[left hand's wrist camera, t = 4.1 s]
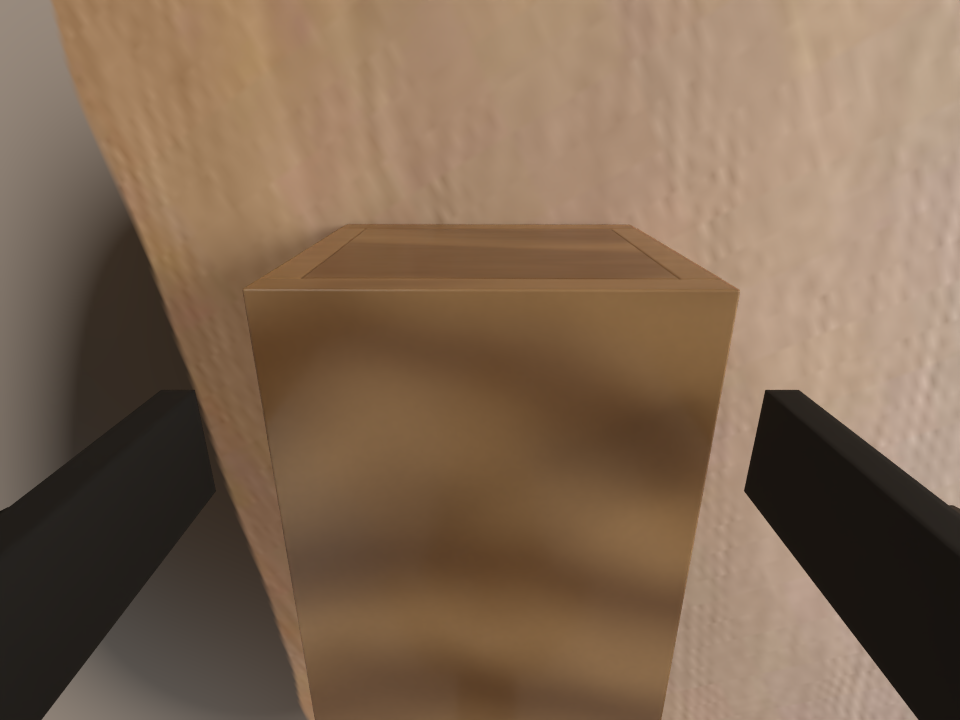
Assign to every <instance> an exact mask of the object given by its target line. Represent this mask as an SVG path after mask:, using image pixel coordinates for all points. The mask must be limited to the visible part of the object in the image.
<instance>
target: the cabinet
mask: <svg viewBox="0 0 960 720" xmlns="http://www.w3.org/2000/svg"><path fill="white" fill-rule="evenodd" d="M243 295H244V301H245V307H246V313H247V319H248V325H249V331H250V337H251V343H252V349H253V355H254V361H255V367H256V372H257V378H258V384H259V390H260V396H261V402H262V408H263V414H264V420H265V426H266V432H267V438H268V444H269V450H270V456H271V462H272V468H273V473H274V479H275V485H276V491H277V497H278V503H279V509H280V515H281V521H282V527H283V533H284V539H285V545H286V551H287V557H288V563H289V568H290V574H291V580H292V586H293V592H294V598H295V604H296V610H297V616H298V622H299V628H300V634H301V640H302V646H303V652H304V658H305V664H306V669H307V675H308V681H309V687H310V693H311V699H312V705H313V711H314V717H315V720H661V717H662V712H663V706H664V701H665V695H666V690H667V685H668V679H669V674H670V668H671V663H672V658H673V652H674V647H675V641H676V636H677V630H678V625H679V620H680V614H681V609H682V603H683V598H684V593H685V587H686V582H687V576H688V571H689V565H690V560H691V555H692V549H693V544H694V538H695V533H696V528H697V522H698V517H699V511H700V506H701V500H702V495H703V490H704V484H705V479H706V473H707V468H708V462H709V457H710V452H711V446H712V441H713V435H714V430H715V425H716V419H717V414H718V408H719V403H720V397H721V392H722V387H723V381H724V376H725V370H726V365H727V360H728V354H729V349H730V343H731V338H732V332H733V327H734V322H735V316H736V311H737V305H738V300H739V295H740V290H739V289H737V288H735V287H734V286H732V285H730V284H729V283H727V282H725V281H724V280H722V279H721V278H719V277H718V276H716V275H714V274H712V273H711V272H709V271H707V270H706V269H704V268H702V267H701V266H699V265H697V264H696V263H694V262H692V261H691V260H689V259H687V258H686V257H684V256H682V255H681V254H679V253H677V252H676V251H674V250H672V249H671V248H669V247H667V246H666V245H664V244H662V243H661V242H659V241H657V240H656V239H654V238H652V237H651V236H649V235H647V234H646V233H644V232H642V231H641V230H639V229H636V228H635V227H633V226H631V225H417V224H347V225H345V226H344V227H342V228H340V229H338V230H337V231H335V232H334V233H332V234H330V235H329V236H327V237H326V238H324V239H322V240H321V241H319V242H318V243H316V244H314V245H313V246H311V247H310V248H308V249H306V250H305V251H303V252H302V253H300V254H298V255H297V256H295V257H294V258H292V259H290V260H289V261H287V262H286V263H284V264H282V265H281V266H279V267H278V268H276V269H274V270H273V271H271V272H270V273H268V274H266V275H265V276H263V277H262V278H261V279H258V280H257V281H255V282H253V283H252V284H250V285H249V286H247V287H245V288H244V289H243Z"/></svg>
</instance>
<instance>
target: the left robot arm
mask: <svg viewBox="0 0 960 720" xmlns="http://www.w3.org/2000/svg"><path fill="white" fill-rule="evenodd" d="M215 491H216V489H215V485H214V480H213V475H212V470H211V465H210V461H209V456H208V452H207V447H206V442H205V437H204V432H203V428H202V423H201V418H200V413H199V409H198V404H197V399H196V394H195V390H161V391H159V392H158V393H157V394H155V395H154V396H153V397H152V398H150V399H149V400H148V401H146V402H145V403H144V404H142V405H141V406H140V407H139V408H137V409H136V410H135V411H133V412H132V413H131V414H129V415H128V416H127V417H126V418H124V419H123V420H122V421H120V422H119V423H118V424H116V425H115V426H114V427H113V428H111V429H110V430H109V431H107V432H106V433H105V434H104V435H102V436H101V437H100V438H98V439H97V440H96V441H94V442H93V443H92V444H91V445H89V446H88V447H87V448H85V449H84V450H83V451H81V452H80V453H79V454H78V455H76V456H75V457H74V458H72V459H71V460H70V461H69V462H67V463H66V464H65V465H63V466H62V467H61V468H59V469H58V470H57V471H55V472H54V473H53V474H52V475H50V476H49V477H48V478H46V479H45V480H44V481H42V482H41V483H40V484H39V485H37V486H36V487H35V488H33V489H32V490H31V491H30V492H28V493H27V494H26V495H24V496H23V497H22V498H20V499H19V500H18V501H16V502H15V503H14V504H13V505H11V506H10V507H7V508H5V509H3V510H2V511H0V720H42V718H43V717H44V716H45V714H46V713H47V712H48V711H49V709H50V708H51V707H52V705H53V704H54V703H55V701H56V700H57V699H58V697H59V696H60V695H61V693H62V692H63V691H64V690H65V688H66V687H67V685H68V684H69V683H70V682H71V680H72V679H73V678H74V676H75V675H76V674H77V672H78V671H79V670H80V669H81V667H82V666H83V665H84V663H85V662H86V661H87V659H88V658H89V657H90V655H91V654H92V653H93V651H94V650H95V649H96V648H97V646H98V645H99V644H100V642H101V641H102V640H103V638H104V637H105V636H106V634H107V633H108V632H109V630H110V629H111V628H112V627H113V625H114V624H115V623H116V621H117V620H118V619H119V617H120V616H121V615H122V613H123V612H124V611H125V609H126V608H127V607H128V606H129V604H130V603H131V602H132V600H133V599H134V598H135V596H136V595H137V594H138V592H139V591H140V590H141V588H142V587H143V586H144V585H145V583H146V582H147V581H148V579H149V578H150V577H151V575H152V574H153V573H154V571H155V570H156V569H157V568H158V566H159V565H160V564H161V562H162V561H163V560H164V558H165V557H166V556H167V554H168V553H169V552H170V550H171V549H172V548H173V547H174V545H175V544H176V543H177V541H178V540H179V539H180V537H181V536H182V535H183V533H184V532H185V531H186V530H187V528H188V527H189V526H190V524H191V523H192V522H193V520H194V519H195V518H196V516H197V515H198V514H199V512H200V511H201V510H202V508H203V507H204V506H205V505H206V503H207V502H208V501H209V499H210V498H211V497H212V495H213V494H214V493H215ZM744 492H745V493H746V494H747V495H748V497H749V498H750V499H751V501H752V502H753V503H754V505H755V506H756V507H757V509H758V510H759V511H760V512H761V514H762V515H763V516H764V518H765V519H766V520H767V522H768V523H769V524H770V526H771V527H772V528H773V530H774V531H775V532H776V533H777V535H778V536H779V537H780V539H781V540H782V541H783V543H784V544H785V545H786V547H787V548H788V549H789V551H790V552H791V553H792V554H793V556H794V557H795V558H796V560H797V561H798V562H799V564H800V565H801V566H802V568H803V569H804V570H805V571H806V573H807V574H808V575H809V577H810V578H811V579H812V581H813V582H814V583H815V585H816V586H817V587H818V589H819V590H820V591H821V592H822V594H823V595H824V596H825V598H826V599H827V600H828V602H829V603H830V604H831V606H832V607H833V608H834V610H835V611H836V612H837V613H838V615H839V616H840V617H841V619H842V620H843V621H844V623H845V624H846V625H847V627H848V628H849V629H850V631H851V632H852V633H853V634H854V636H855V637H856V638H857V640H858V641H859V642H860V644H861V645H862V646H863V648H864V649H865V650H866V651H867V653H868V654H869V655H870V657H871V658H872V659H873V661H874V662H875V663H876V665H877V666H878V667H879V669H880V670H881V671H882V672H883V674H884V675H885V676H886V678H887V679H888V680H889V682H890V683H891V684H892V686H893V687H894V688H895V690H896V691H897V692H898V693H899V695H900V696H901V697H902V699H903V700H904V701H905V703H906V704H907V705H908V707H909V708H910V709H911V711H912V712H913V713H914V714H915V716H916V717H917V718H918V720H960V509H959V508H957V507H955V506H953V505H947V504H946V503H945V502H944V501H942V500H941V499H940V498H938V497H937V496H936V495H934V494H933V493H932V492H931V491H929V490H928V489H927V488H925V487H924V486H923V485H921V484H920V483H919V482H918V481H916V480H915V479H914V478H912V477H911V476H910V475H908V474H907V473H906V472H905V471H903V470H902V469H901V468H899V467H898V466H897V465H895V464H894V463H893V462H892V461H890V460H889V459H888V458H886V457H885V456H884V455H882V454H881V453H880V452H879V451H877V450H876V449H875V448H873V447H872V446H871V445H869V444H868V443H867V442H866V441H864V440H863V439H862V438H860V437H859V436H858V435H856V434H855V433H854V432H853V431H851V430H850V429H849V428H847V427H846V426H845V425H843V424H842V423H841V422H840V421H838V420H837V419H836V418H834V417H833V416H832V415H831V414H829V413H828V412H827V411H825V410H824V409H823V408H821V407H820V406H819V405H818V404H816V403H815V402H814V401H812V400H811V399H810V398H808V397H807V396H806V395H805V394H803V393H802V392H801V391H799V390H765V394H764V399H763V404H762V409H761V413H760V418H759V423H758V428H757V432H756V437H755V442H754V446H753V451H752V456H751V461H750V465H749V470H748V475H747V480H746V484H745V489H744Z"/></svg>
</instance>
